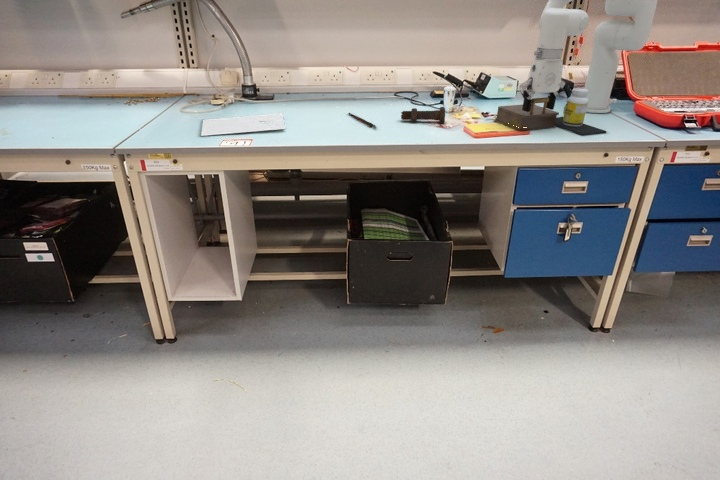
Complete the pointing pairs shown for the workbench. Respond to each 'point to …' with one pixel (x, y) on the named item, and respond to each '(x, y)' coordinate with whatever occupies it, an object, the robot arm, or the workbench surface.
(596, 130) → the mat
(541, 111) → the lid
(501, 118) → the box
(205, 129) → the paper sheet
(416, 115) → the bolt
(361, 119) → the pen
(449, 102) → the milkshake
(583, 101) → the pill bottle
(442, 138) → the workbench surface
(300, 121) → the workbench surface
